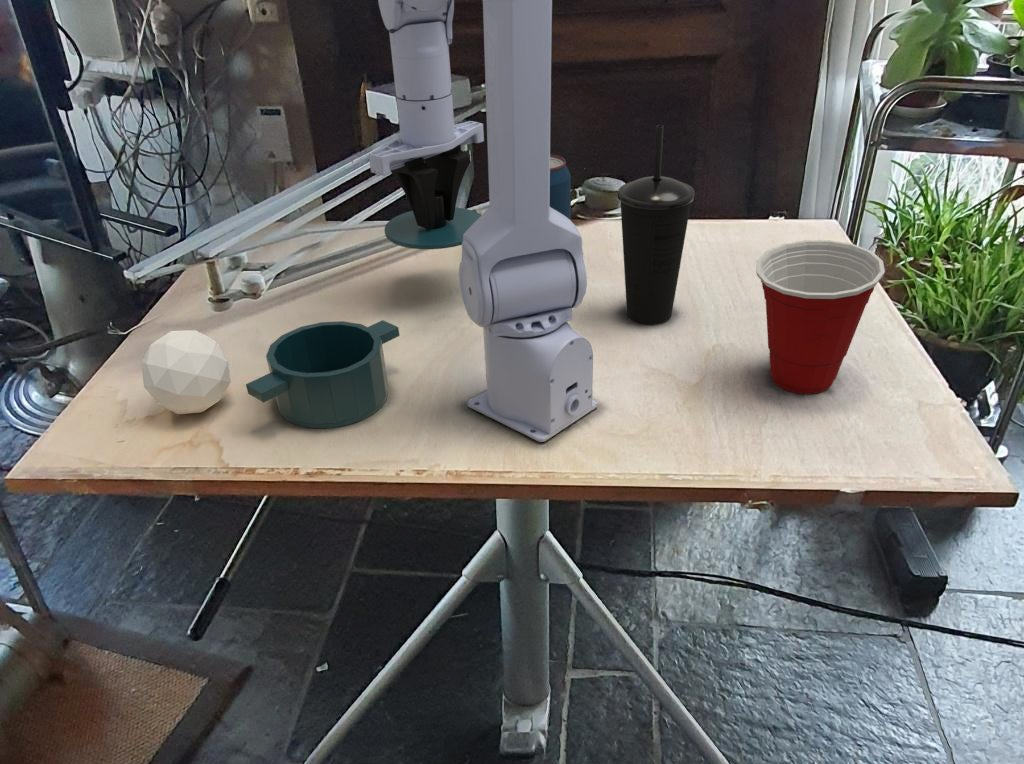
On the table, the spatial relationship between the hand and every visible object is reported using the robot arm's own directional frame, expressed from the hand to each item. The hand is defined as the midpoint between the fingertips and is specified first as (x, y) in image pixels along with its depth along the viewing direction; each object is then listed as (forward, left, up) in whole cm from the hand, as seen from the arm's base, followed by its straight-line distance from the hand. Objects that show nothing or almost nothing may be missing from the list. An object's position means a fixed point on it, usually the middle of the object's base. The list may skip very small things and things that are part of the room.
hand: (435, 222), depth 99 cm
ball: (0, +32, -8) cm, 33 cm away
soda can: (-3, -14, -8) cm, 17 cm away
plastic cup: (-41, -8, -8) cm, 43 cm away
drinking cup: (-22, -10, -8) cm, 26 cm away
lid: (0, 0, -1) cm, 1 cm away
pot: (-9, +23, -8) cm, 26 cm away
